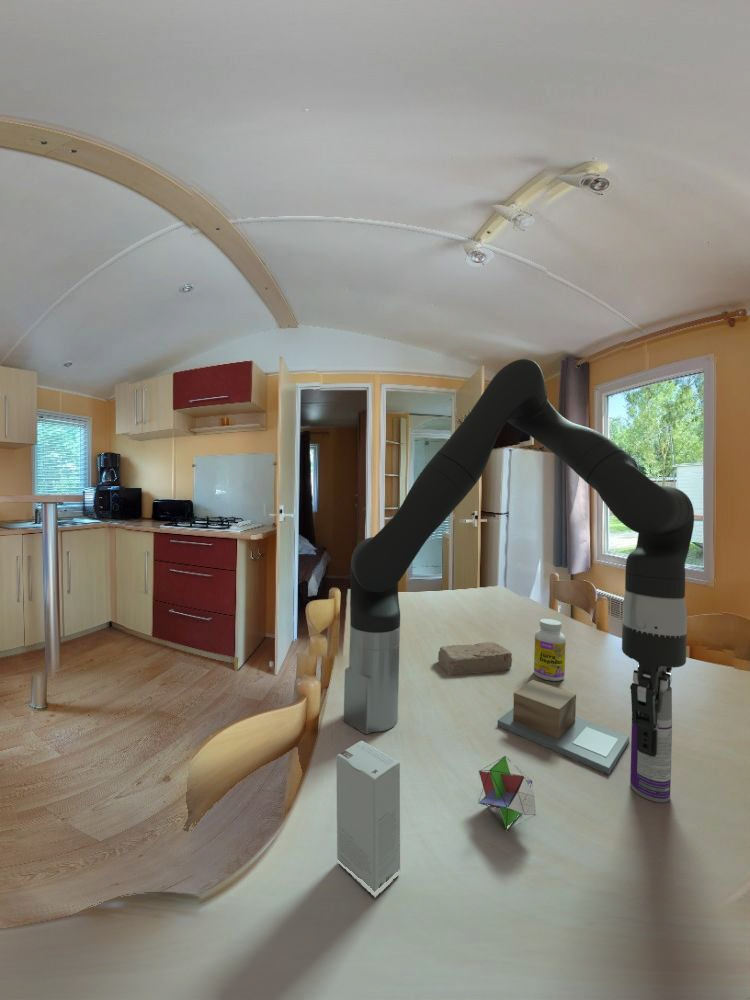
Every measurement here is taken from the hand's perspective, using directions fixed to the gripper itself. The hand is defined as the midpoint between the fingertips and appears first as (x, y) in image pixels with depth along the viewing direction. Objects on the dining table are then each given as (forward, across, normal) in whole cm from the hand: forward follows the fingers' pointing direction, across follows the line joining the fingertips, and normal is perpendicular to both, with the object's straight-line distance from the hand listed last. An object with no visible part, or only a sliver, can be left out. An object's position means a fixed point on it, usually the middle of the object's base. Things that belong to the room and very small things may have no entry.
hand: (650, 744), depth 57 cm
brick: (+7, +20, +40) cm, 46 cm away
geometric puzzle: (+7, -20, +12) cm, 24 cm away
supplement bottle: (+6, +28, +25) cm, 38 cm away
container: (+7, 0, 0) cm, 7 cm away
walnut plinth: (+6, +5, +17) cm, 19 cm away
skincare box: (+7, -38, +19) cm, 43 cm away
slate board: (+6, +5, +14) cm, 16 cm away
